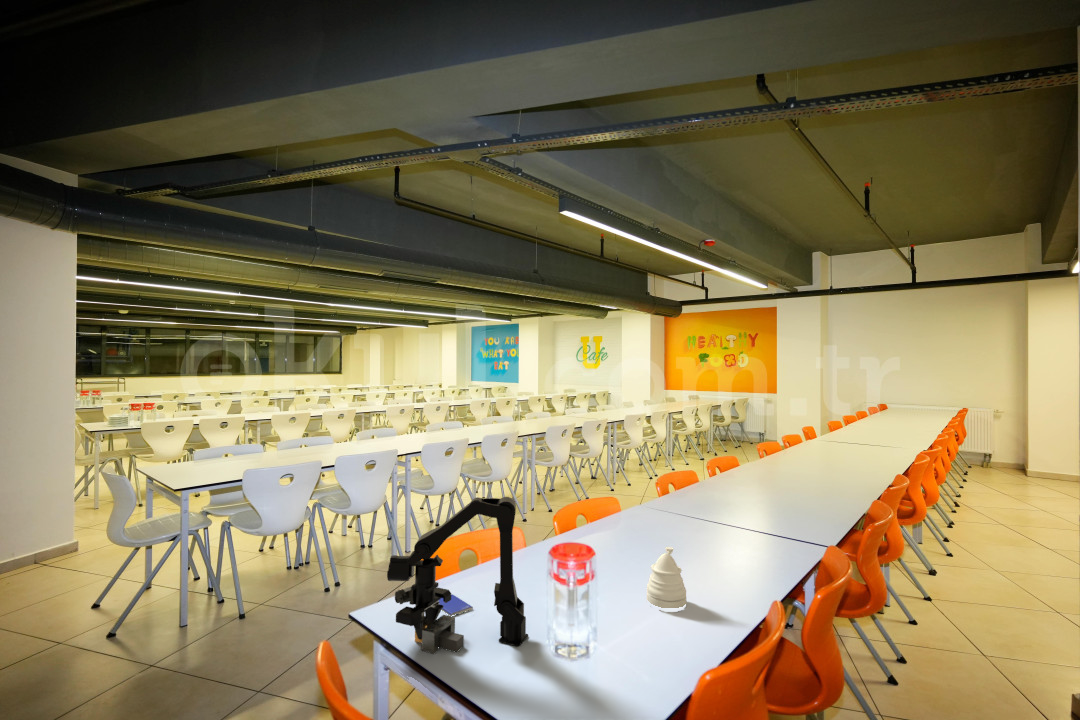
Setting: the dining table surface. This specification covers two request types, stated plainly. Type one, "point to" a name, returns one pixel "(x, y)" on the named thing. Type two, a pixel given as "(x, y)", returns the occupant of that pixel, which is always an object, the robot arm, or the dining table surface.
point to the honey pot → (666, 583)
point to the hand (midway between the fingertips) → (424, 636)
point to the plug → (448, 640)
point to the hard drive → (454, 606)
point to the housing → (436, 632)
